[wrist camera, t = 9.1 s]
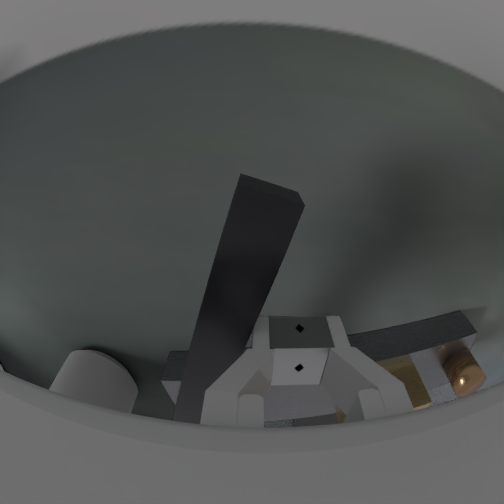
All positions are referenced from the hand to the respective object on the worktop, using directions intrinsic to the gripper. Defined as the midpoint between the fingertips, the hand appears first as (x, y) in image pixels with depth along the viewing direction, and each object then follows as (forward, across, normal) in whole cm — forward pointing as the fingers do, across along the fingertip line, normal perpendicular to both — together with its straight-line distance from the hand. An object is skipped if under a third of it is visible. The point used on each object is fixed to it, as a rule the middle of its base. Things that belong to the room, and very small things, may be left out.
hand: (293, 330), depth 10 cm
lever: (0, +4, +4) cm, 6 cm away
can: (+8, +15, +14) cm, 22 cm away
